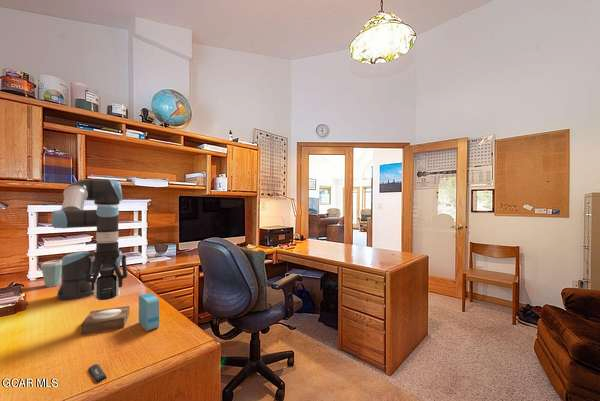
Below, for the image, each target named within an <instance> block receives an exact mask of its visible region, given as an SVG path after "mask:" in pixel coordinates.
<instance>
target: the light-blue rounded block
mask: <svg viewBox="0 0 600 401" xmlns="http://www.w3.org/2000/svg"><path fill="white" fill-rule="evenodd" d="M138 322H139V325H141V327H142V328H143V329H144V330H145V331H146V332H148V331H151V330H154V329H157V328H159V327H160V300H159V298H158V297H157V296H156V295H154V294H153V292H148V293H144V294H140V295H139V296H138Z"/></svg>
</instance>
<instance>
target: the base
mask: <svg viewBox="0 0 600 401" xmlns="http://www.w3.org/2000/svg"><path fill="white" fill-rule="evenodd" d="M129 316H130V305H126V306H119V307H112V308H106V309H105V308H104V309H98V310H97V309H96V310H91V311H90V312H89V313H88V314H87V316H86V317H85V318H84V320H83V321H82V323H81V324H80V336H83V335H90V334H95V333H100V332H107V331H111V330H112V331H113V330H117V329H124V328H125V326H126V323H127V321H128V319H129Z"/></svg>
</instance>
